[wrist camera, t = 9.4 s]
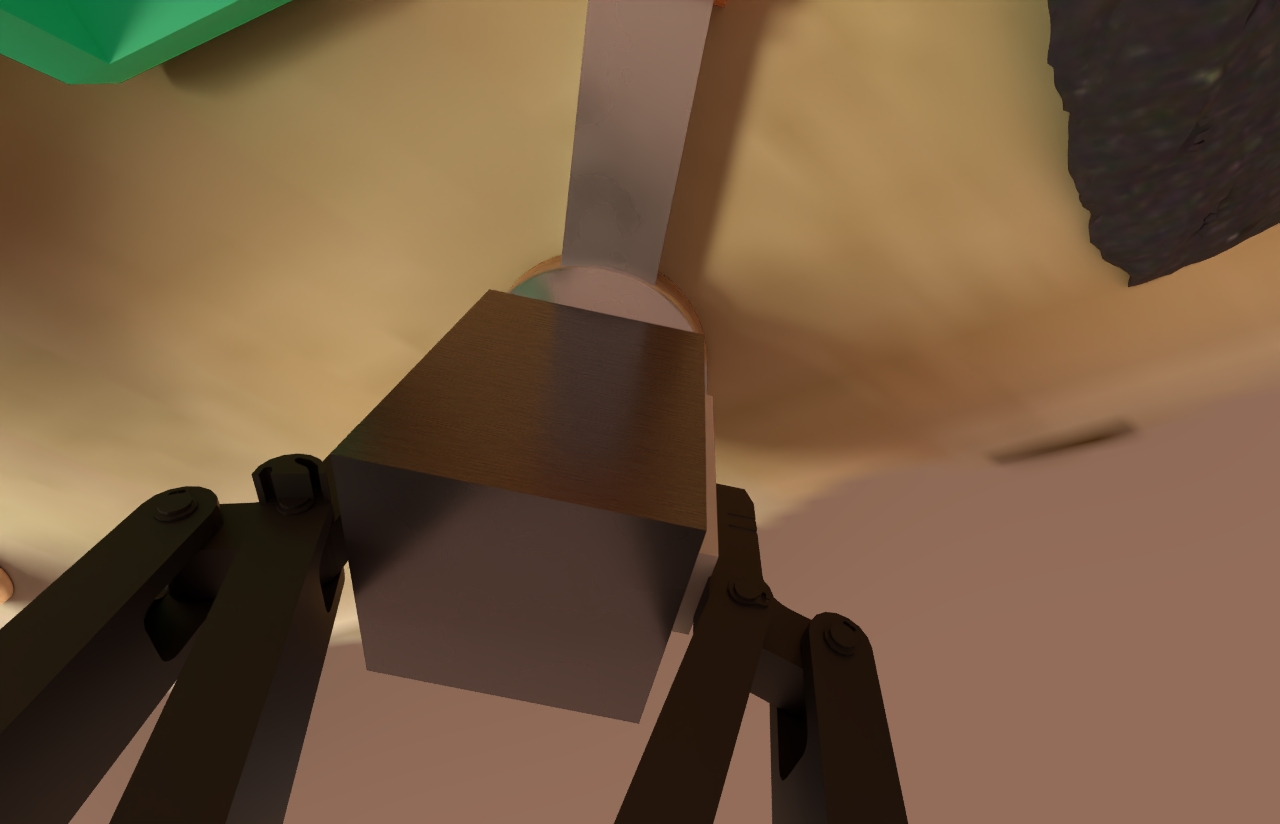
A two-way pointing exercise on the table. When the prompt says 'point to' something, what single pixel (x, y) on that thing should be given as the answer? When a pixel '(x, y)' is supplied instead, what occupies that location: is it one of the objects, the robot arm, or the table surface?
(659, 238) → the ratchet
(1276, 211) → the dark slate chunk
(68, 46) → the camera mount
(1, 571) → the beer glass
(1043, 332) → the table surface
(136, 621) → the robot arm
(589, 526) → the brushed brown cube
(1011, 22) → the table surface
